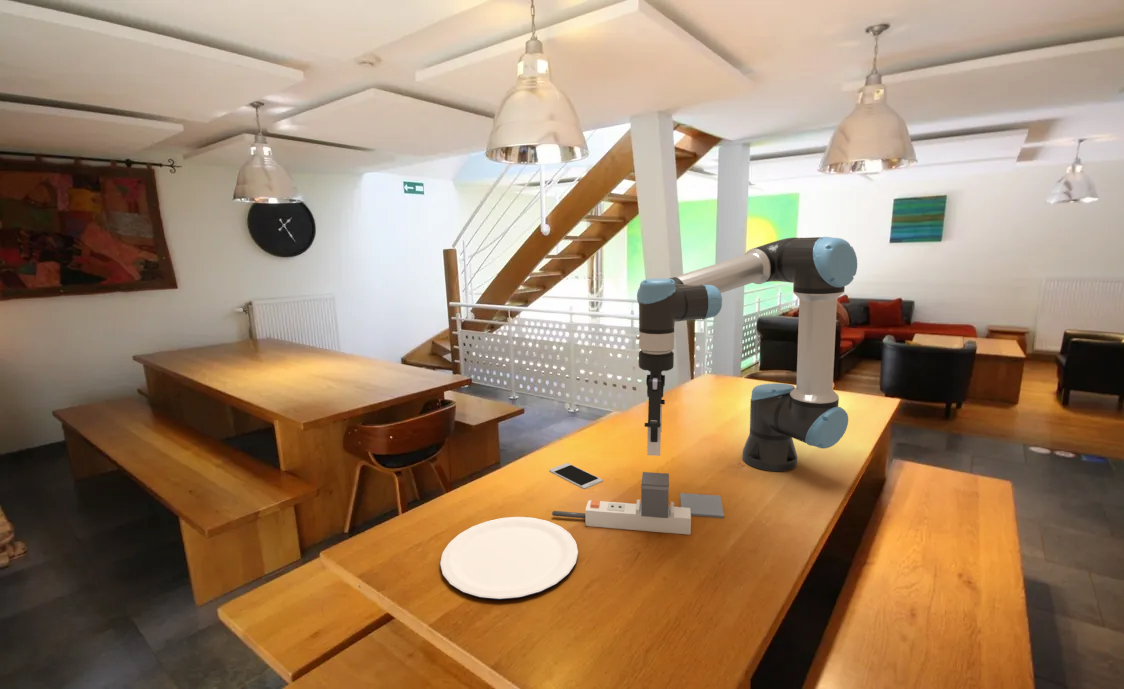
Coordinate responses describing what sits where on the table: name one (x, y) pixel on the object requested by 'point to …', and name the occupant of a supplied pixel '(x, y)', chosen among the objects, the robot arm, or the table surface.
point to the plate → (509, 558)
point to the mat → (702, 505)
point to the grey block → (654, 494)
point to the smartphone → (576, 475)
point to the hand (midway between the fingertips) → (654, 442)
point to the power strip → (632, 517)
